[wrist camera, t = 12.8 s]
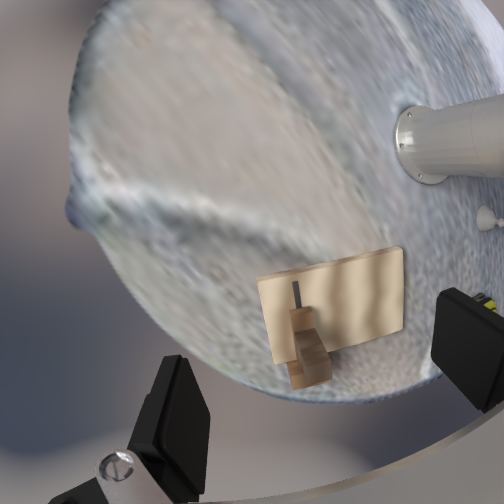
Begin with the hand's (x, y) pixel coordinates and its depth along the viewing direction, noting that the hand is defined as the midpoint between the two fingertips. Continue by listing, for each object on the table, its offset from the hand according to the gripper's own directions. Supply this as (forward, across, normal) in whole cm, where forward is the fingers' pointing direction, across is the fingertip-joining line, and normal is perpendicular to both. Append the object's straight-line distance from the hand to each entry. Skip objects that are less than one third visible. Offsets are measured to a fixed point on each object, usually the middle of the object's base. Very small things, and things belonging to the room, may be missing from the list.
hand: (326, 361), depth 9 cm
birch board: (+30, -9, +14) cm, 35 cm away
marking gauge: (+30, -3, +18) cm, 35 cm away
